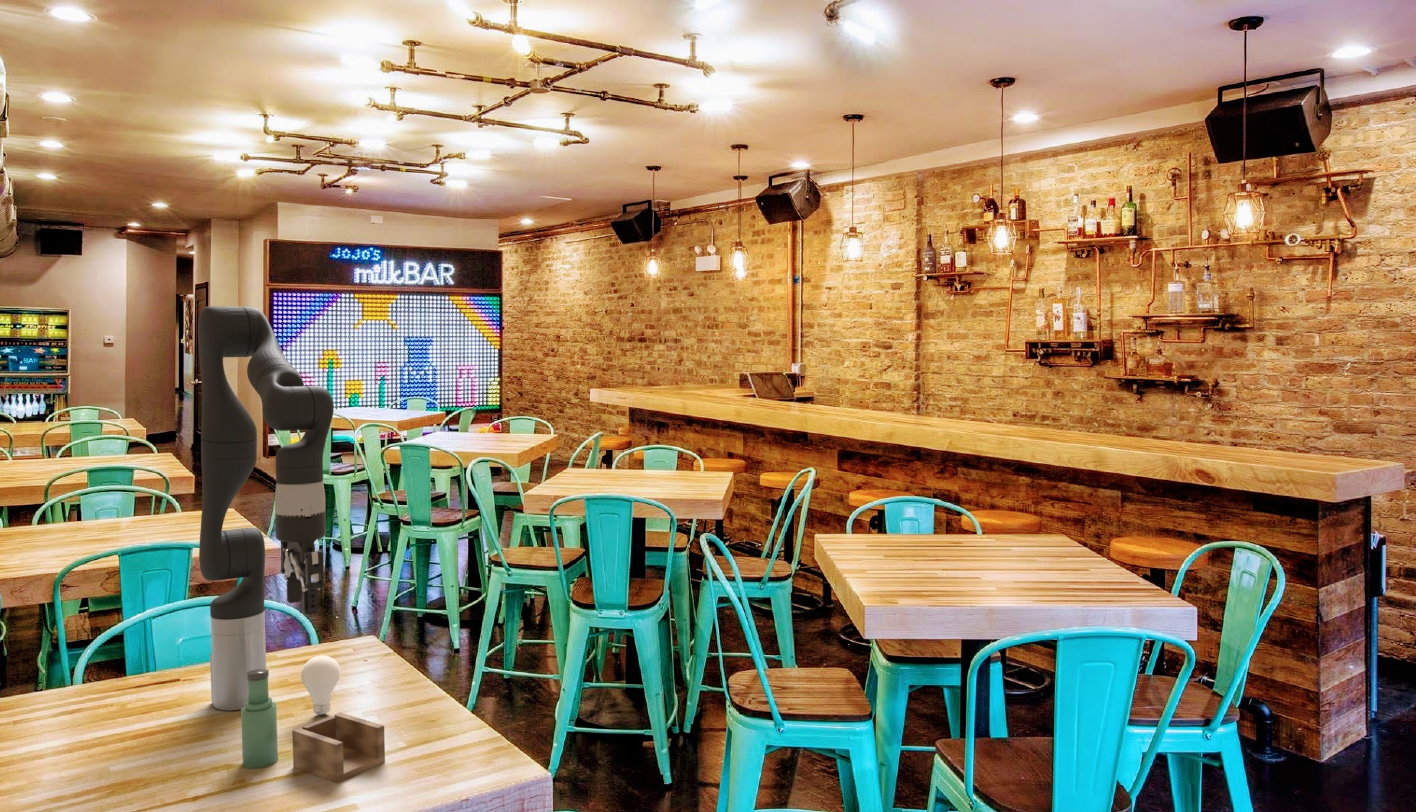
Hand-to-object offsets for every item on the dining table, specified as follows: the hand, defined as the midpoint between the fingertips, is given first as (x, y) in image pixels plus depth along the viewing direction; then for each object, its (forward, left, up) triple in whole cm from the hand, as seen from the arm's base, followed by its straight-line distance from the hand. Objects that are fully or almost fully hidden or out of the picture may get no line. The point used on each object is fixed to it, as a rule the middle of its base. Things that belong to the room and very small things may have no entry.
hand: (302, 607), depth 156 cm
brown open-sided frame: (+7, +1, -25) cm, 26 cm away
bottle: (-5, -5, -25) cm, 26 cm away
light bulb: (-14, +13, -25) cm, 31 cm away
